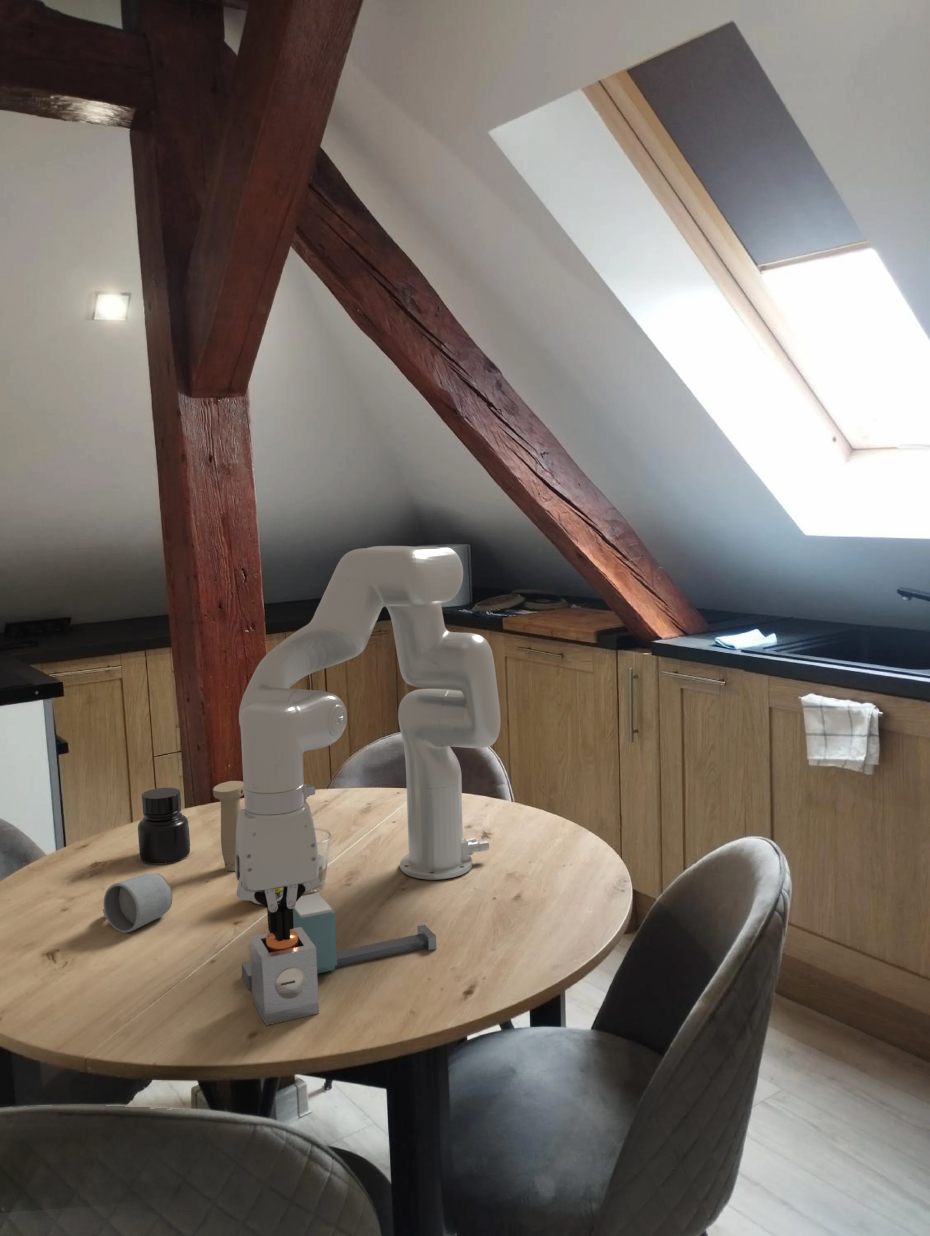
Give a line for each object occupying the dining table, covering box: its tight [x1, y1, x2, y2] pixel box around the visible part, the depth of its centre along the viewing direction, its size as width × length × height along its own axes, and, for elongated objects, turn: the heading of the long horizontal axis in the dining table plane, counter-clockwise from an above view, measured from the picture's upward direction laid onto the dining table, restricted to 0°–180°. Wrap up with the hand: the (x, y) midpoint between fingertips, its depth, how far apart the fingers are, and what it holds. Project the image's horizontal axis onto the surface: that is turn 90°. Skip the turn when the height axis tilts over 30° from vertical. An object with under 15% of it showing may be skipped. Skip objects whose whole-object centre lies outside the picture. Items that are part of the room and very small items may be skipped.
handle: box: [212, 780, 244, 872], centre depth 190 cm, size 5×6×15 cm
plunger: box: [266, 930, 298, 953], centre depth 141 cm, size 4×4×8 cm
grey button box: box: [248, 927, 320, 1027], centre depth 141 cm, size 7×7×9 cm
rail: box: [241, 924, 437, 991], centre depth 154 cm, size 27×4×2 cm, turn 114°
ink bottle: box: [137, 787, 191, 865], centre depth 197 cm, size 10×9×12 cm
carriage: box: [293, 892, 337, 975], centre depth 152 cm, size 5×7×9 cm
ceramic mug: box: [102, 872, 173, 934], centre depth 170 cm, size 11×8×8 cm
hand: (281, 935), depth 140 cm, fingers closed
